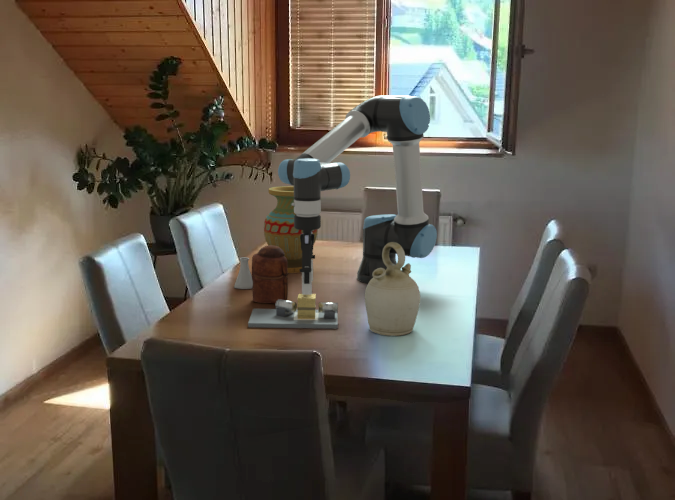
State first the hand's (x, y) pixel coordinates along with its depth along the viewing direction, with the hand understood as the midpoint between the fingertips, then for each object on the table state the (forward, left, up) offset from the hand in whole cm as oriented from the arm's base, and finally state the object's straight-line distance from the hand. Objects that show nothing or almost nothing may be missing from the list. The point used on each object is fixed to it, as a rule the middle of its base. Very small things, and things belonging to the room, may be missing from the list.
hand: (307, 287), depth 207 cm
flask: (+22, -36, -10) cm, 43 cm away
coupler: (0, 0, -8) cm, 8 cm away
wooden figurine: (+12, -19, -10) cm, 25 cm away
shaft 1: (+6, -1, -8) cm, 11 cm away
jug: (-24, +7, -10) cm, 27 cm away
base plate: (+4, 0, -10) cm, 11 cm away
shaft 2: (-6, 0, -9) cm, 10 cm away
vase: (+8, -63, -10) cm, 64 cm away
